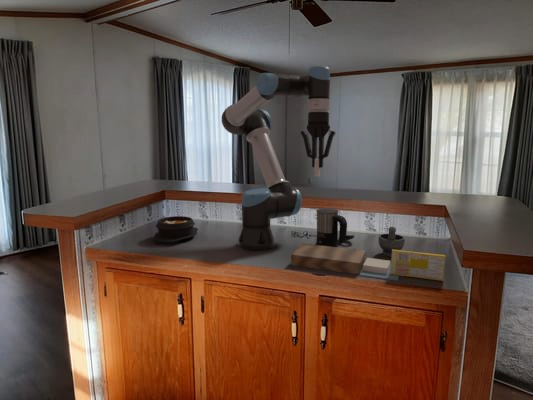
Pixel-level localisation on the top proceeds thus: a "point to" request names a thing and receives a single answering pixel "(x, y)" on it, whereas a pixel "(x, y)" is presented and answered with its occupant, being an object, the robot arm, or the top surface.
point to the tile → (376, 265)
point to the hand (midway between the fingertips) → (317, 176)
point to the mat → (380, 275)
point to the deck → (329, 258)
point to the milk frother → (331, 228)
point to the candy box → (417, 264)
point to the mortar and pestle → (391, 241)
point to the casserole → (174, 229)
